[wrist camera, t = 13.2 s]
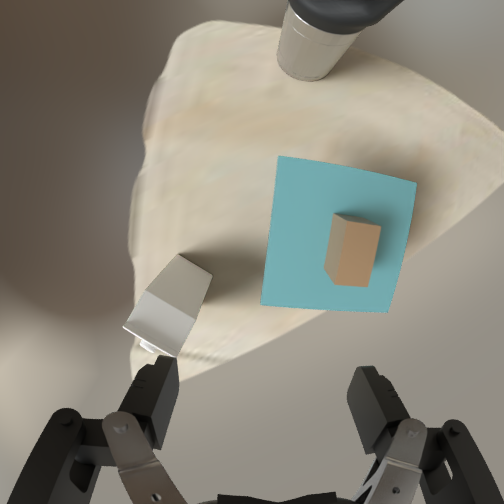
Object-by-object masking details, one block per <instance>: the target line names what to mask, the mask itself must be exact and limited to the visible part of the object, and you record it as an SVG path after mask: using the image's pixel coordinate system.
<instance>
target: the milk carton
mask: <svg viewBox="0 0 504 504" xmlns="http://www.w3.org/2000/svg"><path fill="white" fill-rule="evenodd" d="M212 277H213V275H212V274H210V273H208V272H207V271H205V270H203V269H202V268H200V267H198V266H197V265H195V264H193V263H192V262H190V261H188V260H187V259H185V258H183V257H182V256H180V255H178V254H177V255H176V256H175V257H174V258H173V259H172V260H171V261H170V262H169V263H168V265H167V266H166V267H165V268H164V269H163V270H162V271H161V272H160V274H159V275H158V276H157V277H156V278H155V279H154V280H153V282H152V283H151V284H150V285H149V286H148V287H147V288H146V290H145V291H144V292H143V294H142V296H141V298H140V299H139V301H138V303H137V304H136V306H135V308H134V310H133V311H132V313H131V315H130V317H129V319H128V320H127V322H126V323H125V325H124V326H123V328H124V329H126V330H127V331H129V332H130V333H132V334H134V335H135V336H137V337H139V338H140V339H142V341H141V342H140V345H141V346H142V347H143V348H144V349H146V350H148V351H150V352H152V353H155V351H156V349H159V350H161V351H162V352H164V353H166V354H168V355H170V356H171V357H176V359H177V357H178V354H179V352H180V350H181V348H182V346H183V344H184V342H185V340H186V338H187V336H188V335H189V333H190V331H191V329H192V327H193V325H194V323H195V321H196V319H197V316H198V313H199V311H200V308H201V305H202V303H203V300H204V298H205V295H206V292H207V290H208V287H209V285H210V282H211V279H212Z"/></svg>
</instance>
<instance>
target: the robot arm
mask: <svg viewBox="0 0 504 504" xmlns="http://www.w3.org/2000/svg"><path fill="white" fill-rule="evenodd" d="M402 1H403V0H288V2H287V7H286V12H285V17H284V22H283V27H282V32H281V36H280V41H279V46H278V51H277V59H278V62H279V65H280V66H281V68H282V69H283V70H284V71H285V72H286V73H287V74H288V75H290V76H291V77H293V78H296V79H298V80H302V81H316V80H319V79H321V78H323V77H325V76H326V75H327V74H328V73H329V72H330V70H331V69H332V68H333V67H334V66H335V64H336V63H337V62H338V61H339V59H340V58H341V57H342V56H343V54H344V53H345V52H346V51H347V49H348V48H349V47H350V46H351V44H352V43H353V42H354V40H355V39H356V38H357V37H358V36H359V35H360V33H361V32H362V31H363V30H364V29H365V27H367V26H371V25H374V24H376V23H378V22H379V21H380V20H381V19H382V18H384V17H385V16H386V15H387V14H388V13H389V12H390V11H392V10H393V9H394V8H395V7H396V6H398V5H399V4H400V3H401V2H402ZM178 392H179V376H178V366H177V359H176V357H170V356H164V355H159V356H158V358H157V360H156V362H155V364H154V365H150V364H146V365H145V366H144V367H142V368H141V369H140V370H139V371H138V373H137V375H136V377H135V380H133V382H132V384H131V387H130V388H129V390H128V392H127V394H126V396H125V398H124V399H123V401H122V403H121V405H120V407H119V409H118V411H117V412H112V413H110V414H108V415H107V416H106V417H105V418H104V419H85V418H82V417H81V415H80V414H79V413H78V412H77V411H76V410H74V409H71V408H62V409H59V410H57V411H56V412H55V413H53V415H52V417H51V418H50V420H49V422H48V423H47V425H46V427H45V428H44V430H43V432H42V434H41V435H40V438H39V439H38V441H37V443H36V444H35V446H34V448H33V450H32V452H31V454H30V456H29V458H28V460H27V462H26V464H25V465H24V467H23V470H22V472H21V474H20V476H19V478H18V480H17V482H16V484H15V486H14V489H13V491H12V493H11V495H10V498H9V500H8V502H7V504H89V503H90V499H91V496H92V493H93V490H94V487H95V484H96V481H97V478H98V475H99V472H100V469H101V466H117V468H118V473H119V476H120V478H121V480H122V483H123V485H124V487H125V489H126V491H127V493H128V495H129V497H130V499H131V501H132V503H133V504H187V502H186V501H185V499H184V498H183V496H182V495H181V494H180V492H179V491H178V489H177V488H176V486H175V485H174V483H173V481H172V480H171V479H170V477H169V475H168V474H167V472H166V470H165V469H164V467H163V466H162V464H161V462H160V461H159V460H158V459H157V458H156V456H155V454H154V453H153V449H158V450H161V448H162V445H163V442H164V438H165V435H166V432H167V428H168V425H169V422H170V418H171V415H172V412H173V409H174V406H175V403H176V399H177V396H178ZM347 402H348V405H349V408H350V410H351V413H352V416H353V419H354V422H355V424H356V427H357V430H358V433H359V436H360V439H361V442H362V444H363V448H364V450H365V454H371V453H375V454H376V458H375V459H374V461H373V463H372V465H371V467H370V469H369V471H368V473H367V475H366V477H365V478H364V480H363V482H362V484H361V486H360V488H359V489H358V491H357V492H356V494H355V495H354V496H353V498H352V499H351V500H348V499H344V498H337V497H336V492H329V493H321V494H311V495H306V496H302V497H299V498H296V499H292V500H288V501H284V502H272V501H267V500H262V499H257V498H252V497H248V496H232V495H221V494H218V497H217V500H213V501H207V502H202V503H199V504H411V503H412V500H413V498H414V495H415V492H416V489H417V486H418V484H420V487H421V490H422V492H423V496H424V499H425V502H426V504H504V501H503V498H502V496H501V494H500V491H499V489H498V487H497V485H496V483H495V480H494V478H493V476H492V474H491V472H490V470H489V468H488V466H487V464H486V462H485V460H484V458H483V456H482V455H481V453H480V451H479V449H478V447H477V445H476V444H475V442H474V440H473V438H472V436H471V435H470V433H469V431H468V429H467V428H466V426H465V425H464V424H463V423H462V422H461V421H459V420H454V419H452V420H448V421H446V422H445V423H444V425H443V426H442V428H426V426H425V424H424V423H423V422H421V421H420V420H417V419H414V418H410V416H409V414H408V412H407V410H406V408H405V407H404V405H403V403H402V401H401V399H400V398H399V397H398V394H397V392H396V391H395V389H394V387H393V386H392V384H391V382H390V381H389V380H388V379H387V378H385V377H384V376H383V375H379V374H378V372H377V370H376V368H375V367H374V366H360V367H357V368H356V370H355V373H354V376H353V378H352V381H351V383H350V386H349V389H348V392H347ZM446 460H447V462H448V464H449V466H450V468H451V471H452V473H453V477H452V480H451V477H450V475H449V473H448V470H447V468H446V466H445V463H444V462H445V461H446Z"/></svg>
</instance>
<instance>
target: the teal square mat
mask: <svg viewBox="0 0 504 504" xmlns="http://www.w3.org/2000/svg"><path fill="white" fill-rule="evenodd" d="M416 187H417V183H415V182H411V181H408V180H404V179H400V178H396V177H392V176H388V175H384V174H379V173H375V172H371V171H366V170H361V169H357V168H352V167H346V166H341V165H336V164H330V163H325V162H319V161H313V160H306V159H299V158H292V157H285V156H278V160H277V170H276V178H275V187H274V196H273V204H272V213H271V221H270V230H269V238H268V246H267V254H266V262H265V270H264V278H263V286H262V293H261V301H260V305H266V306H277V307H289V308H303V309H318V310H335V311H336V310H337V311H356V312H388V310H389V307H390V304H391V301H392V298H393V294H394V291H395V287H396V283H397V280H398V277H399V273H400V269H401V265H402V261H403V257H404V253H405V248H406V244H407V239H408V234H409V229H410V224H411V219H412V213H413V207H414V201H415V194H416Z"/></svg>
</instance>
